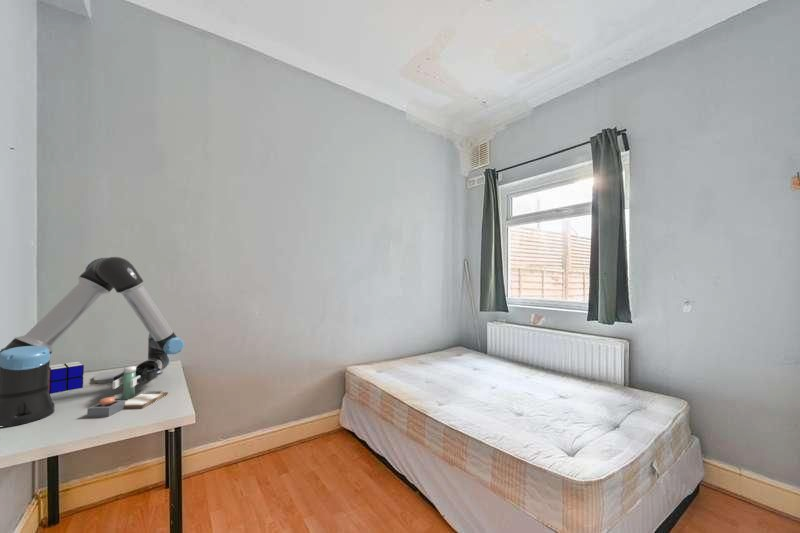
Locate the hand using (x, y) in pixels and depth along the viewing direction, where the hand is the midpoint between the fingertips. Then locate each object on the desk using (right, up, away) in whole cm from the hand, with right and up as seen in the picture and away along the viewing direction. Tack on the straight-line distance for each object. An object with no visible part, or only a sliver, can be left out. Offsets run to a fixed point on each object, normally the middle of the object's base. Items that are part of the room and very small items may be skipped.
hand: (122, 384), depth 122 cm
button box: (+2, -7, -9) cm, 11 cm away
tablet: (-27, -9, +35) cm, 45 cm away
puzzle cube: (-39, -8, +16) cm, 43 cm away
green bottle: (-2, -7, +5) cm, 9 cm away
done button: (+2, -3, -9) cm, 10 cm away
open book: (+7, -7, +1) cm, 10 cm away
